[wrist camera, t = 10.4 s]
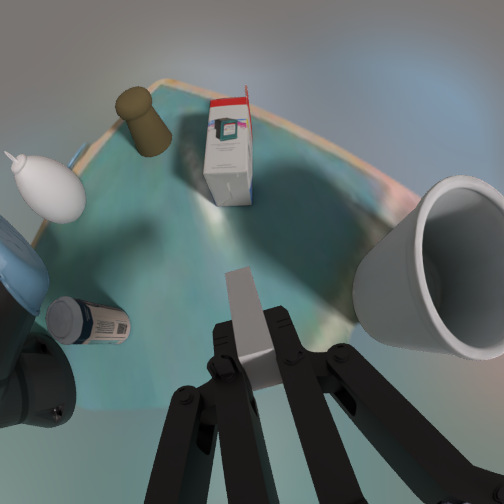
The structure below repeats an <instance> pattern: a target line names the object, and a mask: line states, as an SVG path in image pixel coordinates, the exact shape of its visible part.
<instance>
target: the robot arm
mask: <svg viewBox="0 0 504 504" xmlns="http://www.w3.org/2000/svg"><path fill="white" fill-rule="evenodd" d="M225 277H226V284H227V290H228V297H229V304H230V310H231V317H232V320H230V321H226V322H222V323H218V324H216V325H215V327H214V329H213V345H214V356H213V357H212V358H211V359H210V360H209V362H208V363H207V369H208V371H209V373H210V375H211V376H212V379H211V380H210V381H208V382H207V383H205V384H203V385H202V386H200V387H198V388H195V387H194V386H189V385H187V386H183V387H180V388H178V389H177V390H176V391H175V392H174V394H173V396H172V399H171V402H170V406H169V409H168V413H167V416H166V420H165V423H164V427H163V431H162V434H161V438H160V442H159V445H158V449H157V453H156V457H155V461H154V464H153V468H152V472H151V476H150V480H149V484H148V488H147V493H146V496H145V501H144V504H206V503H207V497H208V491H209V484H210V478H211V472H212V466H213V459H214V453H215V447H216V440H217V434H218V432H219V440H220V448H221V456H222V464H223V470H224V478H225V485H226V491H227V498H228V504H279V499H278V495H277V491H276V487H275V483H274V479H273V474H272V470H271V466H270V462H269V457H268V453H267V449H266V445H265V440H264V436H263V432H262V428H261V422H260V418H259V413H258V409H257V404H256V400H255V398H254V396H253V391H255V390H259V389H263V388H267V387H271V386H274V385H278V384H281V383H283V385H284V388H285V391H286V394H287V398H288V402H289V405H290V408H291V412H292V415H293V418H294V422H295V425H296V428H297V432H298V435H299V438H300V442H301V445H302V448H303V451H304V455H305V458H306V461H307V465H308V468H309V471H310V474H311V478H312V481H313V484H314V487H315V491H316V494H317V497H318V500H319V504H368V502H367V501H366V499H365V498H364V496H363V494H362V492H361V489H360V487H359V484H358V481H357V479H356V476H355V474H354V471H353V468H352V466H351V464H350V461H349V458H348V456H347V453H346V450H345V448H344V446H343V443H342V440H341V438H340V435H339V433H338V430H337V427H336V425H335V422H334V420H333V417H332V415H331V412H330V410H329V407H328V405H327V402H326V400H325V397H324V395H323V393H330V395H331V396H332V397H333V398H334V399H335V401H336V402H337V403H338V404H339V406H340V407H341V408H342V409H343V410H344V412H345V413H346V414H347V415H348V417H349V418H350V419H351V420H352V421H353V422H354V424H355V425H356V426H357V427H358V429H359V430H360V431H361V432H362V433H363V435H364V436H365V437H366V438H367V439H368V441H369V442H370V443H371V444H372V445H373V446H374V448H375V449H376V450H377V451H378V452H379V453H380V455H381V456H382V457H383V458H384V459H385V461H386V462H387V463H388V464H389V465H390V466H391V467H392V469H393V470H394V471H395V472H396V473H397V474H398V476H399V477H400V478H401V479H402V480H403V481H404V482H405V483H406V485H407V486H408V487H409V488H410V489H411V490H412V491H413V493H414V494H415V495H416V496H417V497H418V498H419V499H420V500H421V501H422V502H423V503H425V504H504V475H501V474H497V473H494V472H490V471H488V470H484V469H482V468H479V467H476V466H473V465H472V464H471V463H470V462H469V461H468V460H467V459H466V458H465V457H464V456H463V455H462V454H461V453H460V452H459V451H458V450H457V449H456V448H455V447H454V446H453V445H452V444H451V443H450V442H449V441H448V440H447V439H446V438H445V437H444V436H443V435H442V434H441V433H440V432H439V431H438V430H437V429H436V428H435V427H434V426H433V425H432V424H431V423H430V422H429V421H428V420H427V419H426V418H425V417H424V416H423V415H422V414H421V413H420V412H419V411H418V410H417V409H416V408H415V407H414V406H413V405H412V404H411V403H410V402H409V401H407V399H405V397H404V396H403V395H402V394H400V392H399V391H398V390H397V389H396V388H394V387H393V386H392V385H391V384H390V383H389V382H388V381H387V380H386V379H385V378H384V377H383V376H382V375H381V374H380V373H379V372H378V371H377V370H376V369H375V368H374V367H373V366H372V365H371V364H370V363H369V362H368V361H367V360H366V359H365V358H364V357H363V356H362V355H361V354H360V353H359V352H358V351H357V350H356V349H355V348H354V347H352V346H351V345H349V344H345V343H340V344H336V345H333V346H332V347H331V348H329V349H328V351H327V352H310V351H308V350H306V349H305V348H304V347H303V346H302V344H301V342H300V340H299V337H298V335H297V332H296V330H295V328H294V325H293V323H292V320H291V318H290V315H289V313H288V310H286V309H285V308H284V307H283V306H277V307H274V308H270V309H267V310H264V311H263V310H262V307H261V303H260V300H259V297H258V293H257V290H256V287H255V283H254V280H253V276H252V273H251V270H250V266H249V267H245V268H242V269H238V270H235V271H231V272H228V273H225ZM49 284H50V278H49V273H48V270H47V268H46V266H45V264H44V262H43V261H42V259H41V258H40V257H39V255H38V254H37V253H36V251H35V250H34V249H33V248H32V247H31V245H30V244H29V243H28V242H27V241H26V240H25V239H24V238H23V237H22V235H21V234H20V233H19V232H18V231H17V230H16V229H15V228H14V227H13V226H12V225H11V224H10V223H9V222H8V221H6V220H5V219H4V218H3V217H2V216H1V215H0V428H4V427H8V426H13V425H17V424H21V423H22V424H27V425H33V426H39V427H45V428H52V427H56V426H59V425H62V424H64V423H66V422H67V421H68V420H69V419H70V418H71V416H72V414H73V412H74V409H75V404H76V387H75V381H74V376H73V373H72V370H71V367H70V364H69V362H68V360H67V358H66V356H65V354H64V353H63V351H62V350H61V348H60V347H59V346H58V344H57V343H56V342H55V341H54V340H53V339H51V338H50V337H49V336H47V335H45V334H42V333H35V332H29V331H30V329H31V326H32V324H33V322H34V320H35V318H36V317H37V316H38V315H39V314H40V307H41V304H42V302H43V300H44V298H45V295H46V293H47V291H48V289H49ZM252 390H253V391H252Z"/></svg>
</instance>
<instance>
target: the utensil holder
mask: <svg viewBox="0 0 504 504" xmlns="http://www.w3.org/2000/svg"><path fill="white" fill-rule="evenodd" d="M352 297H353V305H354V309H355V313H356V315H357V318H358V320H359V322H360V324H361V325H362V327H363V328H364V330H365V331H366V332H367V333H368V334H369V335H370V336H371V337H373V338H374V339H375V340H377V341H378V342H381V343H383V344H386V345H389V346H393V347H398V348H404V349H409V350H415V351H423V352H431V353H440V354H448V355H455V356H458V357H460V358H463V359H468V360H476V361H477V360H478V361H479V360H480V361H481V360H489V359H493V358H495V357H498V356H500V355H502V354H503V353H504V197H503V196H502V195H501V194H500V193H499V192H498V191H497V190H496V189H495V188H493V187H492V186H491V185H489V184H488V183H486V182H484V181H482V180H480V179H478V178H475V177H471V176H466V175H456V176H451V177H447V178H445V179H443V180H441V181H439V182H438V183H436V184H435V185H434V186H433V187H432V188H431V189H430V190H429V191H428V192H427V193H426V194H425V195H424V196H423V197H422V199H421V200H420V202H419V204H418V205H417V207H416V208H415V209H414V210H413V211H412V212H411V213H410V214H409V215H408V216H407V217H405V218H404V219H403V220H402V221H401V222H400V223H399V224H398V225H397V226H396V227H395V228H394V229H393V230H392V231H391V232H390V233H388V234H387V235H386V236H385V237H384V238H383V239H382V240H381V241H380V242H379V243H378V244H377V245H376V246H375V247H374V248H373V249H371V250H370V251H369V252H368V253H367V255H366V256H365V257H364V258H363V259H362V261H361V263H360V264H359V266H358V268H357V270H356V273H355V277H354V281H353V291H352Z"/></svg>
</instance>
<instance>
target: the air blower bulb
mask: <svg viewBox="0 0 504 504" xmlns="http://www.w3.org/2000/svg"><path fill="white" fill-rule="evenodd" d="M4 152H5V154H6V155H7V156H8V157H9V158H10V159H11V160H12V161H13V164H12V167H11V170H12V172H13V173H14V174H15V181H16V184H17V187H18V189H19V191H20V193H21V195H22V197H23V199H24V200H25V201H26V203H27V204H28V205H29V206H30V208H32V210H33V211H34V212H36V213H37V214H38V215H40V216H41V217H43V218H44V219H46V220H48V221H51V222H54V223H59V224H66V223H71V222H74V221H75V220H77V219H78V218H79V217H80V215H81V214H82V212H83V210H84V208H85V205H86V194H85V190H84V187H83V185H82V183H81V182H80V180H79V179H78V177H77V176H76V175H75V174H74V173H73V172H72V171H71V170H70V169H69V168H67V167H66V166H65V165H63V164H61V163H59V162H58V161H55V160H53V159H50V158H47V157H43V156H26V155H24V154H20V155H18V156H17V157H16V158H14V157H13V156H12V155H10V154H9V153H8V152H6V151H4Z"/></svg>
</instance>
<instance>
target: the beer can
mask: <svg viewBox="0 0 504 504" xmlns="http://www.w3.org/2000/svg"><path fill="white" fill-rule="evenodd" d="M46 323H47V328H48V331H49V332H50V334H51V335H52V336H53V337H54V338H55V339H56V340H57V341H58V342H60V343H62V344H65V345H69V344H121V343H122V342H124V341H125V340H126V339H127V338H128V336H129V333H130V320H129V318H128V316H127V314H126V313H125V312H124V311H123V310H121V309H119V308H114V307H110V306H105V305H101V304H96V303H92V302H88V301H83V300H79V299H75V298H71V297H68V296H63V297H60V298H58V299H56V300H54V301H53V302H52V303H51V304H50V306H49V307H48V310H47V314H46Z"/></svg>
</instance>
